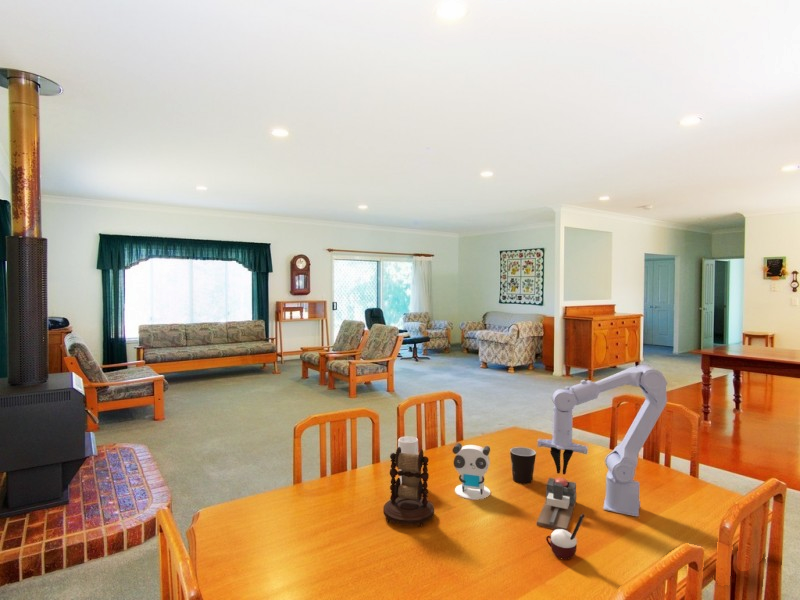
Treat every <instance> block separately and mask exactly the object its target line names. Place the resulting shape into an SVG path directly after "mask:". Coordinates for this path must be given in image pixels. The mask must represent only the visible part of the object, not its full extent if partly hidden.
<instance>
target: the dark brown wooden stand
mask: <svg viewBox="0 0 800 600" xmlns="http://www.w3.org/2000/svg"><path fill="white" fill-rule="evenodd" d="M389 458H390V462H391V465H390V470H389V476H390V478H391V479H390V486H389V490H390V494H391V495H390V497H389V500H387V501H386V502H385V503H384V505H383V508H382V509H383V516H385V518H386V522H388V523H390V521H391V522H393V523H396V524H401V525H419V527H420V528H422V527H423V525H424V523H425V522H427V521H430V520H431V519H432V518H433V517H434V515H435V506H434V504H433V503H432V502H431V501H429V500H428V499H427V498H428V494H429V489H428V480H429V477H430V475H429V472H428V471H429V469H428V464H429V457H428V456H426V455H425V456H424V450H423V449H420V450H419V451H418V455H417V454H408V453H401V448H400V447H398V446H397V448H396V451H395V452H391V453H390V455H389ZM396 468H397V469H398V470H397V469H396ZM400 469H401V471H400ZM397 476H399V477H398V478H397V479H396V477H397ZM400 476H402V484H401V482H400Z"/></svg>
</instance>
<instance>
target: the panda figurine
mask: <svg viewBox="0 0 800 600" xmlns="http://www.w3.org/2000/svg"><path fill="white" fill-rule="evenodd" d="M452 453H453V454H455V456H454V457H453V458H454V459H453V466H454V469H455V471H456V472H457V473H458V474H459V476H458V479H459V481H460V482H461V484H458V485H456V487H455V488H454V493H455V494H456V495H457V496H458V497H461V498H463V499H466V500H471V501H472V500H473V501H477V500H478V501H479V499H480V500H484V498H485V499H487V498H488V496H489V495H490V496H491V490H490V489H489V488H488V487H487V486H485V475H486V474H487V471H488V469H489V467H490V464H491V463H490V456H489V455H490V453H491V447H490V446H488V445H486V446H484V447H482V446H479V445H475V444H465V445H463V444H461V442H457V443H456V444H455V445H454V446H453V448H452ZM486 497H487V498H486Z"/></svg>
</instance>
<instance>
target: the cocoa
mask: <svg viewBox="0 0 800 600" xmlns="http://www.w3.org/2000/svg"><path fill="white" fill-rule="evenodd" d="M584 518H585V513H582V514H580V516H579V518H578V519H577V523H576V525H575V527H574V529H573V532H572V533H571V532H570V531H568V530H567V531H566V530H563V529H556V530H555V529H553V531H552V533H551V534H550V535H547V536H546V537H545V540H546V542H547V544H548V545H549V547H550V548H551V552H553V554H554V556H556V557H557V558H559V559H561V558H562V560H569V559H572V558H573V557H574V556H575V555H576V551H577V547H578V546H577V543H578V539H577V537H576V536H577V533H578V531H579V530H580V527H581V524H582V522H583V520H584ZM549 539H550V540H549Z"/></svg>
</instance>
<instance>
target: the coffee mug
mask: <svg viewBox="0 0 800 600" xmlns="http://www.w3.org/2000/svg"><path fill="white" fill-rule="evenodd" d="M509 451H510V452H509V455H510V463H511V471H512V472H511V473H512V480H513V482H515V483H517V484H520V483H521V485H529V484H531V482H532V483H533V477H534V471H535V463H536V456H537V452H536V451H535V450H534V449H532V448H530V447H525V446H516V447H512V448H510V450H509Z"/></svg>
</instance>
